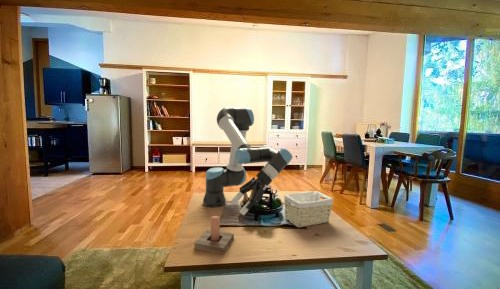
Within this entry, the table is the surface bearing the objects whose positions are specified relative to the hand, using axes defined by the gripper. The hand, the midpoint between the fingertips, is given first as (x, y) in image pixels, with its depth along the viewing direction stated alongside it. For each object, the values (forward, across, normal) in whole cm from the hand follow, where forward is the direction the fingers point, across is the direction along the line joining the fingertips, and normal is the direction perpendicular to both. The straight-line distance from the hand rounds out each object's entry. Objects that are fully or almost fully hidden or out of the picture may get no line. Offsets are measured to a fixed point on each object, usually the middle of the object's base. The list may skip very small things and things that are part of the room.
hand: (236, 208), depth 123 cm
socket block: (+19, 0, -4) cm, 19 cm away
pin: (+19, 0, -4) cm, 19 cm away
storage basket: (-21, +10, -44) cm, 50 cm away
